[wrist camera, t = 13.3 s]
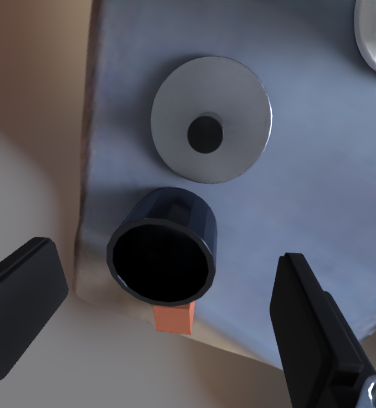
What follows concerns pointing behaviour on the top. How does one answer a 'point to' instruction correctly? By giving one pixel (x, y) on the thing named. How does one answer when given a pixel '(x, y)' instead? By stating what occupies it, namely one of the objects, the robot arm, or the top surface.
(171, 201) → the pot
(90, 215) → the top surface
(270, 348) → the top surface
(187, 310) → the block
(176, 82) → the lid
